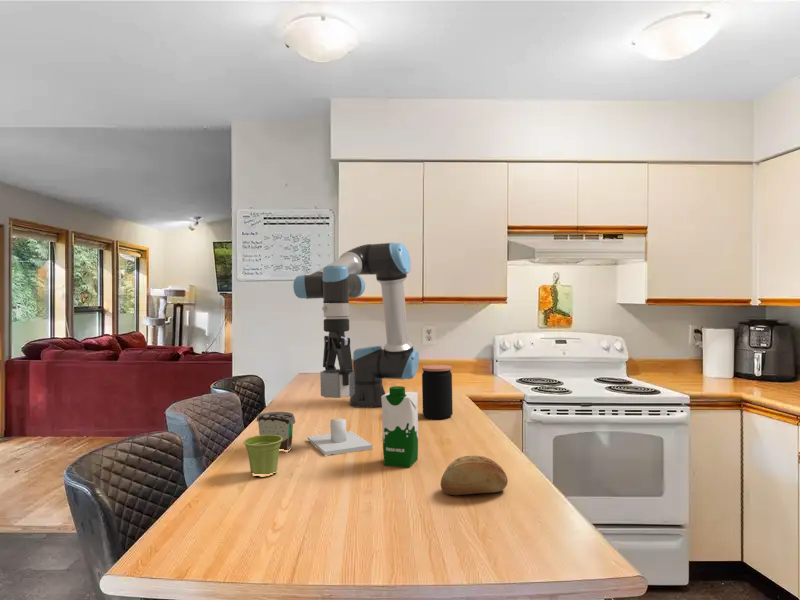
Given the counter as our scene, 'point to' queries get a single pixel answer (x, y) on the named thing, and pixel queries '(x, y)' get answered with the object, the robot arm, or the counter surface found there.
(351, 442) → the panel
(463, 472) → the bread roll
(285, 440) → the food container
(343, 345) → the robot arm
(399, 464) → the milk carton
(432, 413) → the coffee jar
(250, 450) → the plant pot
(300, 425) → the counter surface
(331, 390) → the collar
